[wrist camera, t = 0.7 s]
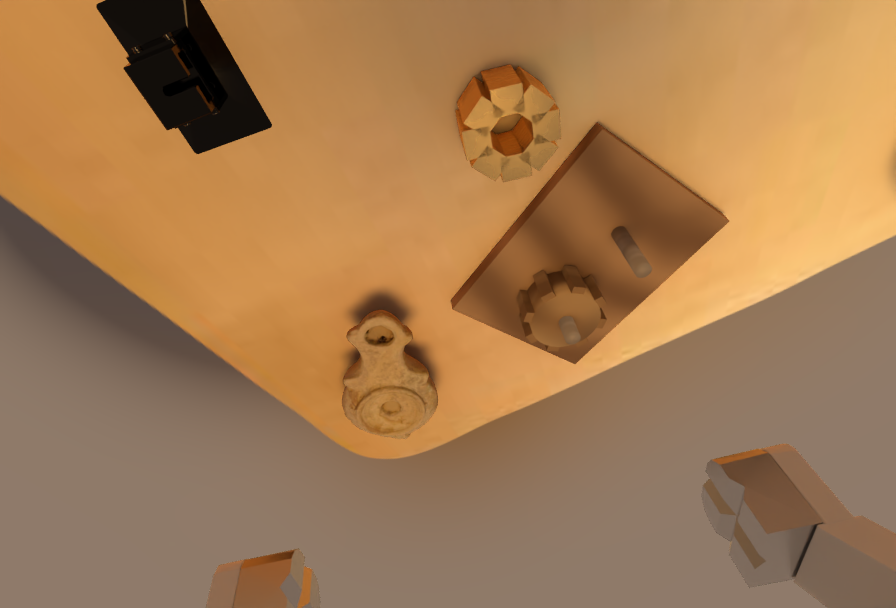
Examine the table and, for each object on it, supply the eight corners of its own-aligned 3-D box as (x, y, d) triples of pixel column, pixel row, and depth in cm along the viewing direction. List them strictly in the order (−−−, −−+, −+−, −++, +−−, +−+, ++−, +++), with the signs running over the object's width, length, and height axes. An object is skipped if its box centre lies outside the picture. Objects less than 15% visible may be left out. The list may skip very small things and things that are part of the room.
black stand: (294, 139, 36) (285, 169, 32) (198, 175, 37) (179, 208, 33) (178, -75, 28) (149, -66, 25) (59, -23, 29) (16, -6, 26)
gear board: (596, 122, 37) (629, 161, 32) (722, 213, 43) (765, 257, 38) (451, 300, 46) (459, 351, 41) (571, 355, 51) (591, 405, 47)
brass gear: (492, 47, 33) (503, 64, 30) (564, 99, 36) (580, 119, 33) (439, 128, 36) (444, 151, 33) (509, 171, 38) (519, 195, 36)
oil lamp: (387, 280, 44) (388, 321, 40) (471, 376, 52) (479, 417, 48) (286, 336, 47) (277, 379, 43) (381, 419, 55) (382, 461, 51)
